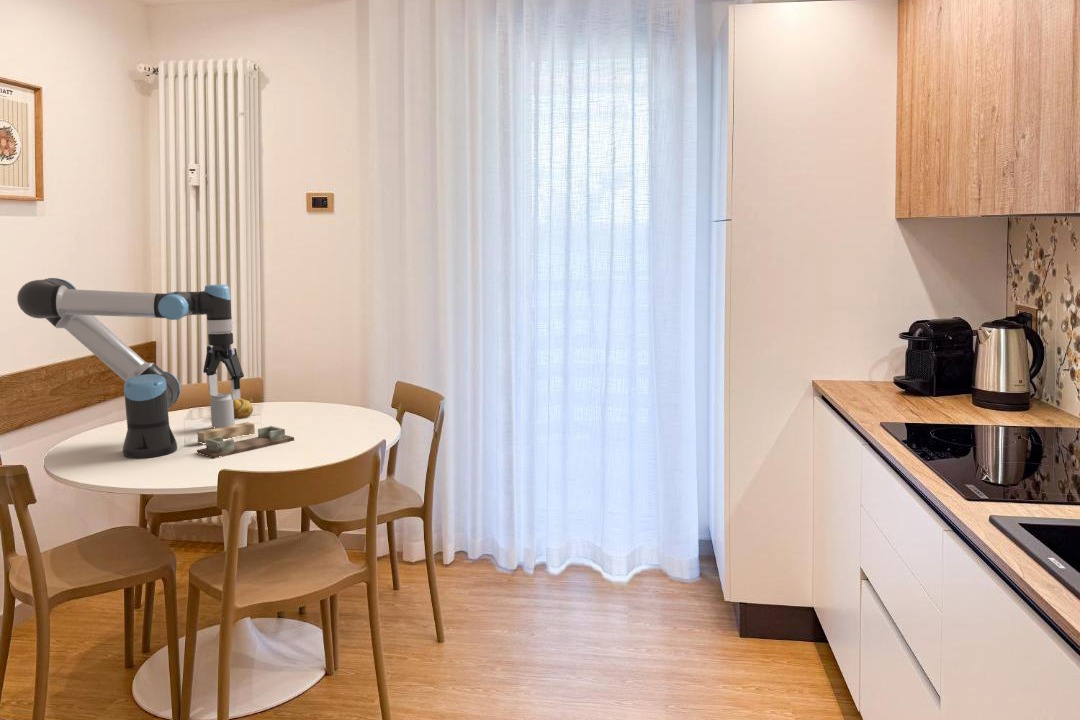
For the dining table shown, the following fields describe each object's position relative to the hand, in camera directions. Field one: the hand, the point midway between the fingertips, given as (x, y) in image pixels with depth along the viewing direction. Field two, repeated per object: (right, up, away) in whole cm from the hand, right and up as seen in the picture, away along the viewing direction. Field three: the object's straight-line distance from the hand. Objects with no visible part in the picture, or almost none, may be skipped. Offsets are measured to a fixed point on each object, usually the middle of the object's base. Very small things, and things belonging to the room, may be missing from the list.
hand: (224, 396), depth 266 cm
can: (-7, -12, +18) cm, 23 cm away
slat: (0, -14, +2) cm, 14 cm away
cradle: (+11, -15, -9) cm, 21 cm away
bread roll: (-9, -9, +37) cm, 39 cm away
